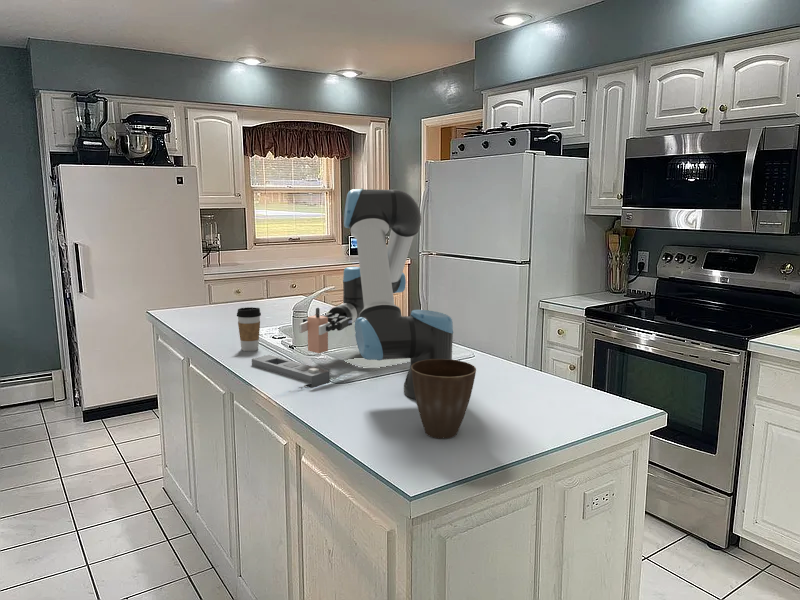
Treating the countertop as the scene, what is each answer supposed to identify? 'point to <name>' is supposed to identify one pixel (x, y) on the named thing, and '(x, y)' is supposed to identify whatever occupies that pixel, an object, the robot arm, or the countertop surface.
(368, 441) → the countertop surface
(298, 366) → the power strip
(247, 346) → the coffee cup
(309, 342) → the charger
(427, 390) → the plant pot
